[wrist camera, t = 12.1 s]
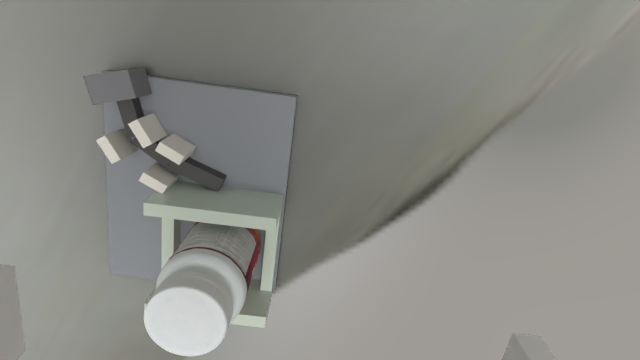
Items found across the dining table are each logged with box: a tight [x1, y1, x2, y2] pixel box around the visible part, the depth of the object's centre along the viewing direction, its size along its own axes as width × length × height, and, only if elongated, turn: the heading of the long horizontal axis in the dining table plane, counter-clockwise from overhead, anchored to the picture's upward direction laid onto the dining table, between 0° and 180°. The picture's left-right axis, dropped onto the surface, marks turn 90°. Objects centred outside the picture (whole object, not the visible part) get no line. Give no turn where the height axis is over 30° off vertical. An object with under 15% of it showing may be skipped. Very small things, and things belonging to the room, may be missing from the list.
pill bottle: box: [144, 222, 261, 356], centre depth 30 cm, size 6×6×11 cm
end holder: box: [143, 181, 283, 328], centre depth 33 cm, size 10×10×5 cm
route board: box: [83, 67, 297, 293], centre depth 33 cm, size 19×15×4 cm
